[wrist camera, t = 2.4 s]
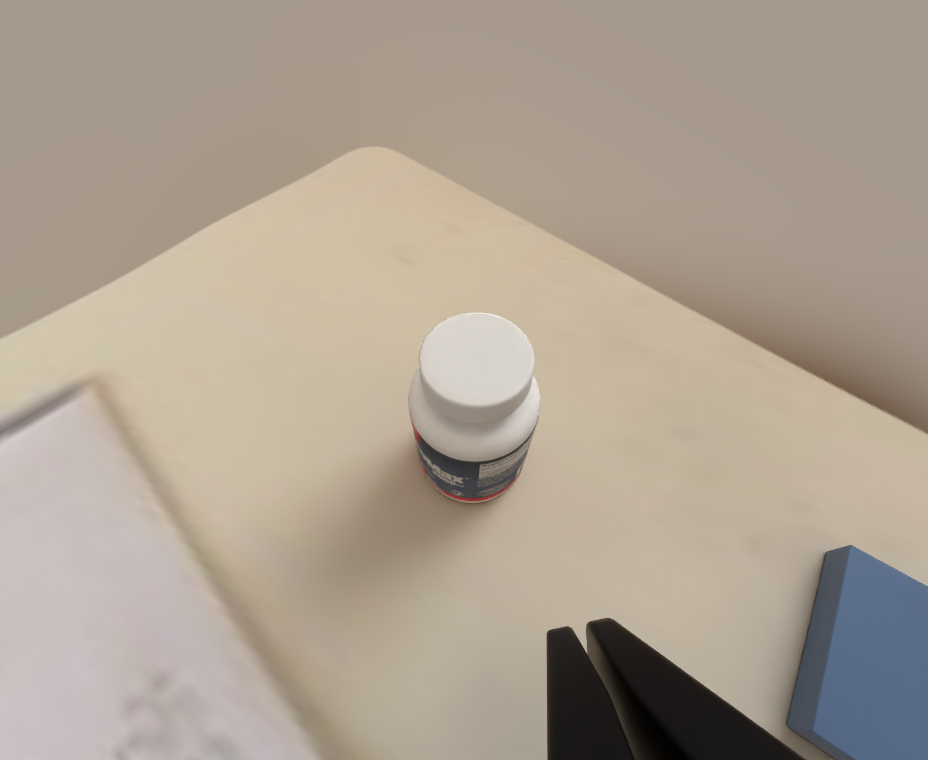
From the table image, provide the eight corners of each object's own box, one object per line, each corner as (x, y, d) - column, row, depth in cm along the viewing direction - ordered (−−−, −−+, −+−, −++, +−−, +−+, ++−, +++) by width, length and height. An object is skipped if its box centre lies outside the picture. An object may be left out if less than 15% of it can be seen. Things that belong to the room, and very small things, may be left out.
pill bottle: (401, 441, 23) (370, 337, 15) (483, 393, 24) (491, 276, 17) (458, 527, 20) (454, 454, 13) (544, 467, 22) (585, 371, 14)
